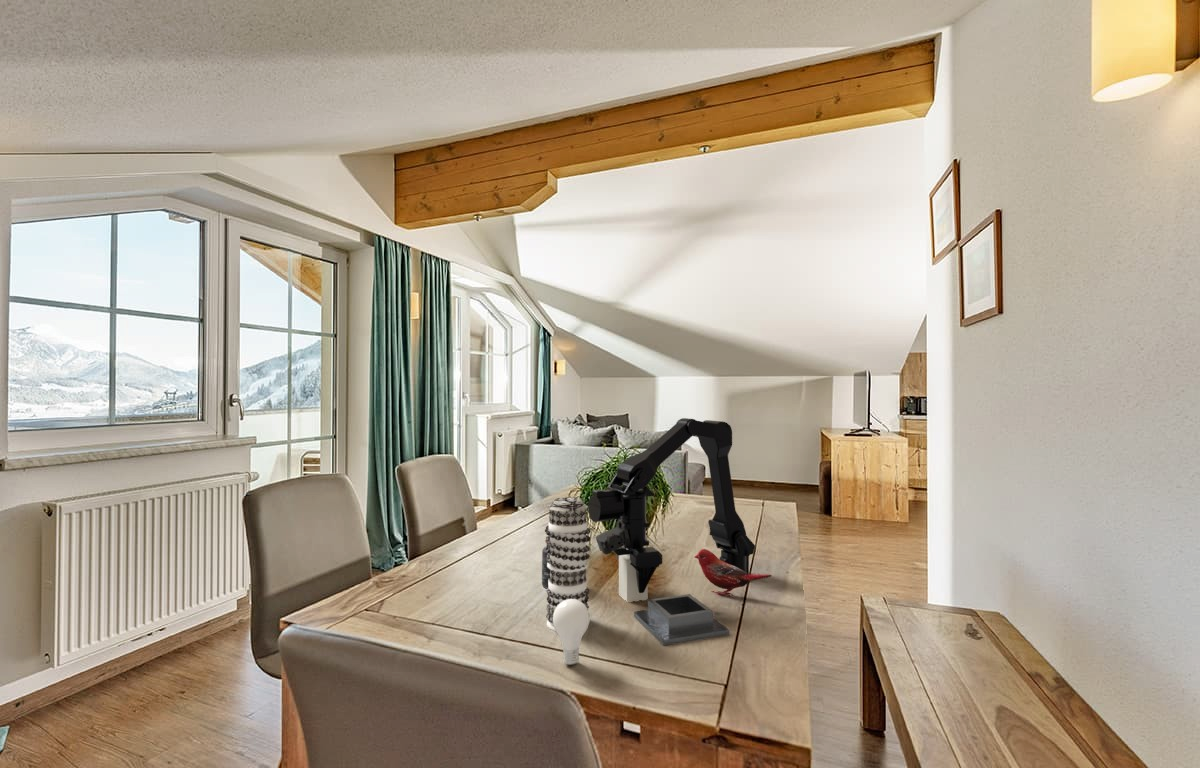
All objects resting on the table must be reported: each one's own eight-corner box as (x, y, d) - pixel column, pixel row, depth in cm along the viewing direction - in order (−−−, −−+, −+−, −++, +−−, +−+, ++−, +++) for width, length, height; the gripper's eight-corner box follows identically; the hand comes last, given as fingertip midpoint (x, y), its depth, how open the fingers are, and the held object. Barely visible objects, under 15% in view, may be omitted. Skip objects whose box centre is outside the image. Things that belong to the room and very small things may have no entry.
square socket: (693, 607, 121) (693, 589, 121) (729, 634, 108) (729, 614, 108) (633, 616, 116) (633, 597, 116) (663, 645, 103) (663, 624, 103)
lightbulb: (552, 655, 99) (552, 593, 99) (588, 654, 99) (588, 592, 100) (552, 674, 93) (552, 607, 93) (590, 672, 93) (591, 606, 93)
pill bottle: (563, 590, 131) (563, 542, 131) (538, 588, 132) (538, 540, 132) (569, 582, 137) (569, 535, 137) (546, 580, 138) (546, 534, 138)
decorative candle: (573, 637, 106) (574, 506, 106) (535, 626, 111) (535, 500, 111) (599, 620, 114) (599, 498, 114) (562, 611, 119) (562, 493, 119)
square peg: (638, 592, 130) (638, 553, 130) (647, 599, 125) (647, 559, 125) (618, 594, 128) (618, 555, 129) (626, 602, 124) (627, 561, 124)
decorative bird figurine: (695, 588, 133) (695, 546, 133) (773, 601, 125) (773, 556, 125) (692, 592, 130) (692, 549, 130) (770, 605, 122) (770, 559, 122)
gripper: (586, 510, 133) (586, 576, 133) (614, 529, 116) (614, 605, 115) (630, 507, 137) (629, 571, 137) (663, 525, 119) (663, 598, 119)
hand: (633, 585), depth 127 cm, fingers open, 9 cm apart
